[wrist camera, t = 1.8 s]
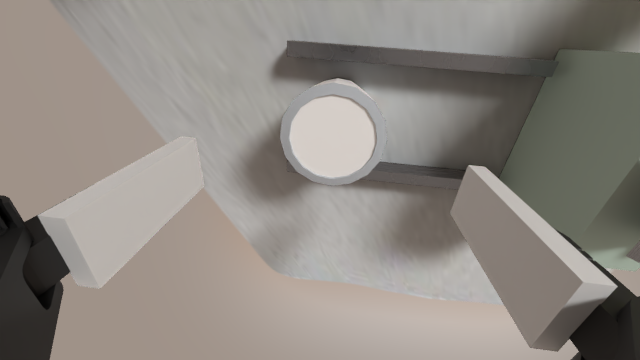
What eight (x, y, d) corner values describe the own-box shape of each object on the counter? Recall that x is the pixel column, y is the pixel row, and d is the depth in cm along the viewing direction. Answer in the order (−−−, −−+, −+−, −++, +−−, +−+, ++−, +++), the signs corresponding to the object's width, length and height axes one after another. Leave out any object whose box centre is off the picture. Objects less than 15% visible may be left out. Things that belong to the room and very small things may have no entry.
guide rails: (292, 40, 20) (287, 40, 18) (539, 59, 19) (559, 61, 17) (291, 162, 25) (286, 171, 23) (485, 182, 24) (496, 193, 22)
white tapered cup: (296, 69, 21) (274, 82, 15) (381, 70, 20) (395, 83, 14) (300, 147, 24) (283, 184, 18) (373, 150, 24) (381, 189, 17)
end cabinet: (559, 49, 18) (763, 58, 9) (625, 53, 18) (901, 68, 9) (491, 193, 24) (574, 285, 15) (540, 199, 24) (654, 294, 15)
